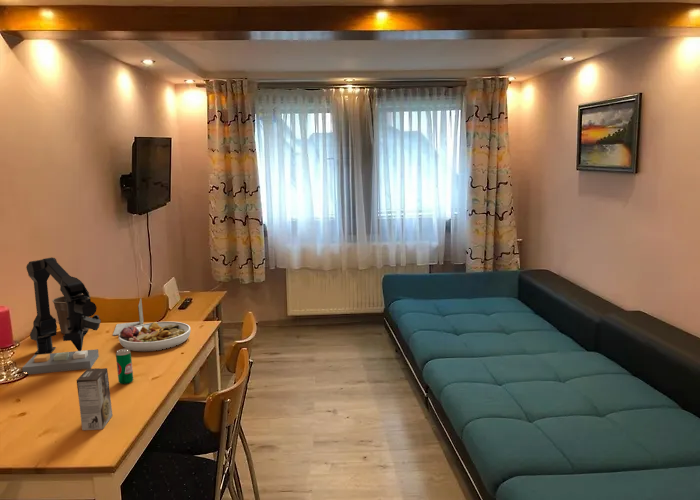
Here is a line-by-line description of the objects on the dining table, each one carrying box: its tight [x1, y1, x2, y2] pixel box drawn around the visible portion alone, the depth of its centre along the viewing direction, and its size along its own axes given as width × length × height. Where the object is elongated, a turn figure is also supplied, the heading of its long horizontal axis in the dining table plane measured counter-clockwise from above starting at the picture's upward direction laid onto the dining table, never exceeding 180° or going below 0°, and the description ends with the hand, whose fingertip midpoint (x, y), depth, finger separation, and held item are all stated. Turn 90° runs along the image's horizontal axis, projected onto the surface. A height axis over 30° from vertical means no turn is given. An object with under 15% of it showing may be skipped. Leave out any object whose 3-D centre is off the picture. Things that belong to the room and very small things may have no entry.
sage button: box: [54, 351, 70, 361], centre depth 224 cm, size 4×4×3 cm
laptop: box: [112, 297, 144, 336], centre depth 269 cm, size 18×12×13 cm
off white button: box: [73, 349, 89, 359], centre depth 226 cm, size 4×4×3 cm
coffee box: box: [76, 367, 113, 431], centre depth 173 cm, size 9×6×16 cm
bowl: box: [118, 321, 191, 352], centre depth 250 cm, size 30×30×8 cm
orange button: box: [34, 353, 51, 362], centre depth 223 cm, size 4×4×3 cm
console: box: [22, 349, 100, 375], centre depth 224 cm, size 14×24×3 cm, turn 102°
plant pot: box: [52, 293, 91, 335], centre depth 268 cm, size 16×16×16 cm
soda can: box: [115, 348, 134, 385], centre depth 205 cm, size 5×5×12 cm
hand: (80, 350), depth 225 cm, fingers closed
